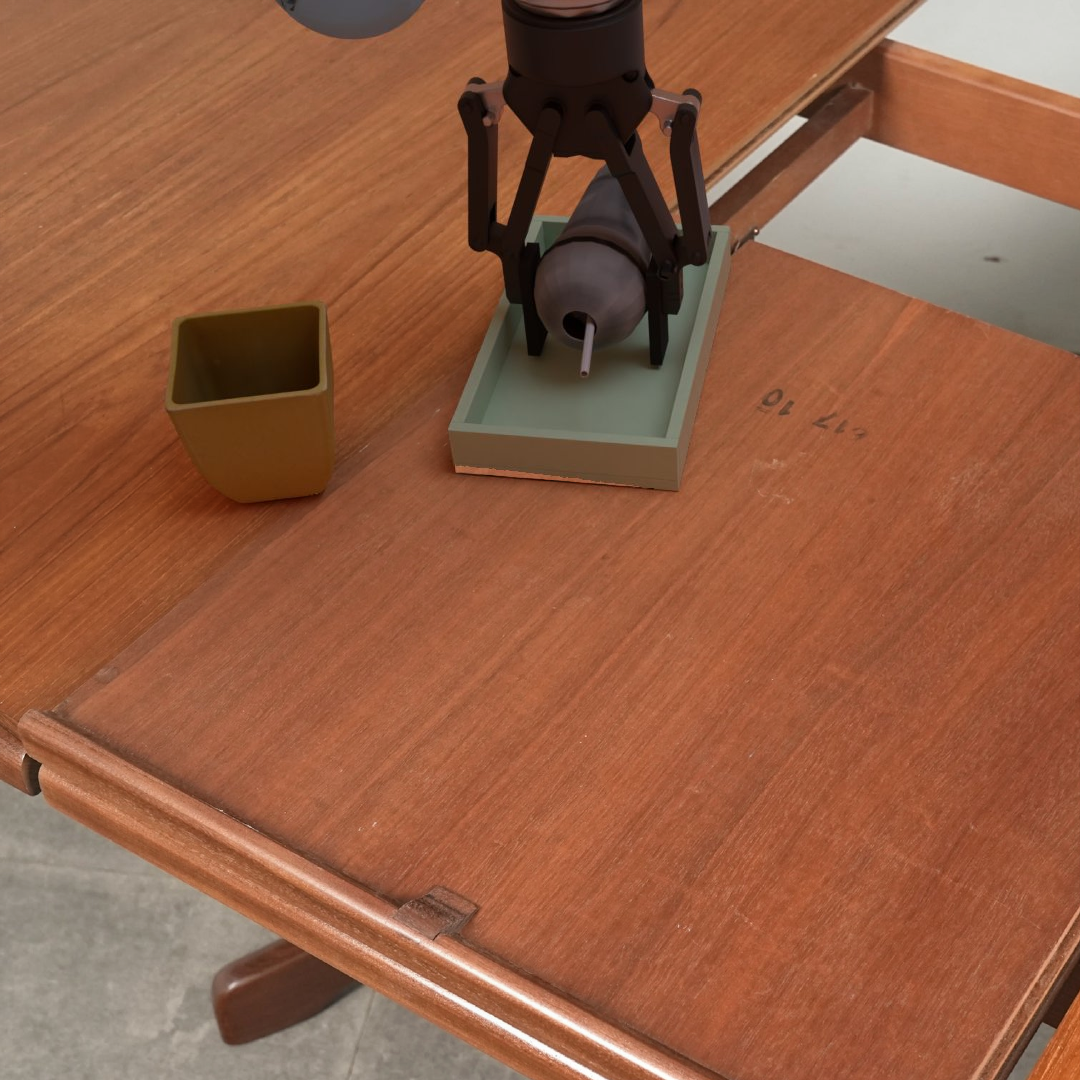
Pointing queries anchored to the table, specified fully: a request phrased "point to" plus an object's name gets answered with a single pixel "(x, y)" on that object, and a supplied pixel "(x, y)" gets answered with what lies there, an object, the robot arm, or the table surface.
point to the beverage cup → (594, 273)
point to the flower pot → (255, 399)
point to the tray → (592, 389)
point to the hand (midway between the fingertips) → (598, 347)
